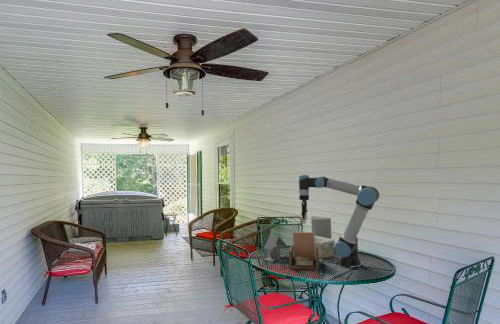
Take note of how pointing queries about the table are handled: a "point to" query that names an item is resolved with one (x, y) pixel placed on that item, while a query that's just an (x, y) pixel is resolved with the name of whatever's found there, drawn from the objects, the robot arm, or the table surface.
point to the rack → (292, 266)
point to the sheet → (304, 244)
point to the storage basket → (324, 247)
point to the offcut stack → (303, 261)
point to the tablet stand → (270, 245)
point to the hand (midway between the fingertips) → (304, 221)
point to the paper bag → (321, 226)
